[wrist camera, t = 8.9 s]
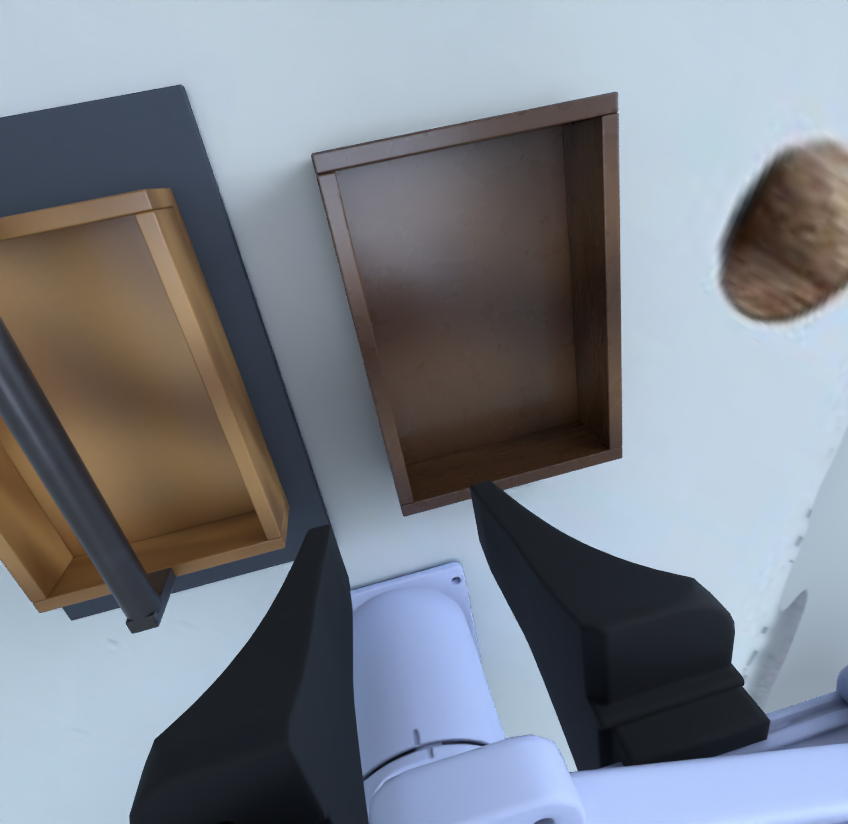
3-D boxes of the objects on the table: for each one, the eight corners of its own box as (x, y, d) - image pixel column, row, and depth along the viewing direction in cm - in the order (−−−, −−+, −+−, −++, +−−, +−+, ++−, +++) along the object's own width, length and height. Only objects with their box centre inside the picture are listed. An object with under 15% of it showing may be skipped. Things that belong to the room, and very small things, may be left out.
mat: (337, 544, 26) (337, 549, 25) (74, 614, 25) (70, 621, 24) (184, 86, 17) (181, 84, 17) (-237, 163, 16) (-249, 163, 15)
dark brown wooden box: (585, 424, 25) (622, 458, 22) (392, 474, 25) (403, 517, 21) (570, 105, 19) (619, 90, 16) (312, 157, 18) (310, 153, 15)
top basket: (289, 506, 24) (281, 593, 19) (71, 563, 23) (2, 670, 18) (171, 187, 18) (112, 190, 13) (-133, 248, 17) (-325, 277, 12)
